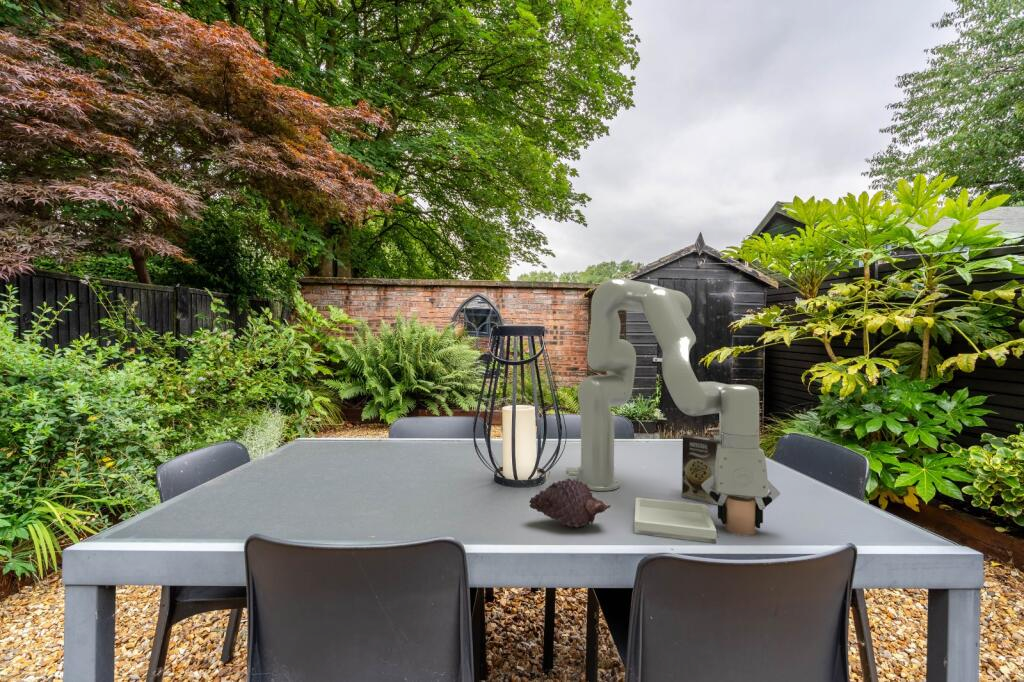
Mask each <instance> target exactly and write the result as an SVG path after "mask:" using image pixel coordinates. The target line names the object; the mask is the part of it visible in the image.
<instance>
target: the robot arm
mask: <svg viewBox="0 0 1024 682" xmlns="http://www.w3.org/2000/svg"><path fill="white" fill-rule="evenodd" d="M590 305H591V306H590V307H591V308H590V313H591V315H590V316H591V317H590V327H589V335H588V336H589V337H588V343H587V351H586V352H587V353H586V361H587V365H588V366H589V368H591V369H592V370H594V371H596V372H607V374H597V375H590V376H587V377H585V378H583V379H582V380H581V381H580V382H579V384H578V387H577V398H578V404H579V412H580V466H579V467H576V468H574V467H566V468H565V475H568V477H576V478H575V479H574V480H576V481H581V482H582V483H583V484H585V485H587V486H588V488H590V491H595V492H606V491H607V492H609V491H614V490H617V489H618V488H620V485H621V484H620V481H619V479H617V478H616V477H615V422H614V417H613V414H612V412H611V409H610V408H611V407H613V408H614V407H621V406H623V405H626V404H627V403H628V402H629V400H630V399H631V398H632V394H633V389H634V381H635V373H636V366H637V354H636V349H635V347H634V346H633V344H632V343H631V342H630V341H628V340H626V339H623V338H622V339H621V337H620V335H621V327H622V326H621V324H622V323H621V320H620V319H621V317H620V315H619V313H618V312H619V311H628V312H638V313H641V314H644V316H645V318H646V320H647V322H648V323H649V326H650V328H651V331H652V332H653V334H654V337H655V339H656V341H657V342H658V345H659V347H660V348H661V351H662V358H661V370H662V378H663V381H664V383H665V386H666V388H667V390H668V392H669V395H670V397H671V398H672V400H673V402H674V404H675V405H676V407H677V408H678V410H679V411H681V412H682V413H684V414H685V415H688V416H691V417H700V416H705V415H713V414H719V413H721V431H720V433H717V434H713V437H714V441H719V442H720V443H721V445H718V447H717V451H716V457H715V467H714V474H713V475H712V476H710V477H709V478H708V479H707V480H706V481H705V482H703V483H702V488H703V489H704V490H705V491H706V492H707V493H708V494H709V495H710V496H711V497H712V498H713V499H714V500H715V501H716V502H717V503H718V504H717V519H719V520H720V522H721V524H722V525H723V526H725V524H726V506H725V500H726V498H727V495H734V496H744V497H753V498H755V500H756V529H761V524H764V510H765V509H766V507H767V506H768V505H770V504H771V503H772V502H773V501H775V500H776V499H778V498H779V496H780V495H781V492H780V491H779V490H778V488H777V487H775V486H774V485H773V484H772V483H771V482H770V481H769V479H768V468H767V459H766V455H765V450H764V449H763V448H761V447H760V392H759V389H758V388H757V387H755V386H754V385H750V384H749V385H748V384H734V383H733V384H727V383H722V382H718V381H699V380H698V379H697V377H696V374H695V372H694V371H693V368H692V365H691V362H690V352H691V349H692V347H693V346H694V345H695V344H696V341H697V337H696V334H695V332H694V330H693V329H692V326H691V325H690V323H689V321H688V318H689V316H690V314H691V312H692V309H693V307H692V302H691V299H690V298H689V297H688V295H687V294H686V293H684V292H682V291H680V290H674V289H671V288H668V287H667V288H666V287H663V286H659V285H656V284H652V283H648V282H643V281H638V280H633V279H627V278H609V279H607V280H605V281H603V282H602V283H600V284H599V285H598V286H597V288H596V289H595V291H594V293H593V295H592V298H591V304H590ZM713 484H714V485H715V486H716V489H717V491H718V494H717V493H716V492H715V491H714V490H712V489H711V488H710V487H711V485H713Z"/></svg>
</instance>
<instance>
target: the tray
mask: <svg viewBox="0 0 1024 682" xmlns="http://www.w3.org/2000/svg"><path fill="white" fill-rule="evenodd" d="M637 533H638V534H639V535H644V536H645V535H647V536H655V537H660V538H661V537H664V538H671V539H677V540H678V539H679V540H686V541H687V540H688V541H695V542H701V543H702V542H703V543H711V544H717V529H716V527H715V523H714V522H713V519H712V517H711V514H710V512H709V509H708V507H707V505H706V504H704V503H694V502H683V501H674V500H665V499H664V500H663V499H653V498H646V497H645V498H643V497H635V507H634V534H637Z"/></svg>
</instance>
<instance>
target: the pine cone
mask: <svg viewBox="0 0 1024 682" xmlns="http://www.w3.org/2000/svg"><path fill="white" fill-rule="evenodd" d="M528 502H529V503H530V504H529V507H530V509H532V510H536V511H537V512H539V513H542V514H544V516H547V517H549V518H550V519H552V520H556V521H560V524H562V525H565V526H568V527H569V528H574V527H575V528H580V527H585V526H586V525H588V524H593V523H594V521H595V519H596V515H598V514H600V513H604V512H605V511H606V510H607V509H609V508H611V506H612V505H611V504H608V505H607V504H605V503H604V502H603V501H602V500H598V499H597V498H594V496H593V493H592V492H591V490H590V488H588V486H587V485H585V484H583V483H582V482H581V481H576V480H575V479H572V480H571V479H570V478H567V479H566V480H558V481H557V482H553V483H552V484H550V485H548V486H547V487H546V488H545V490H540V491H539V493H538V494H535V496H533V497H530V500H529V501H528Z"/></svg>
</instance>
